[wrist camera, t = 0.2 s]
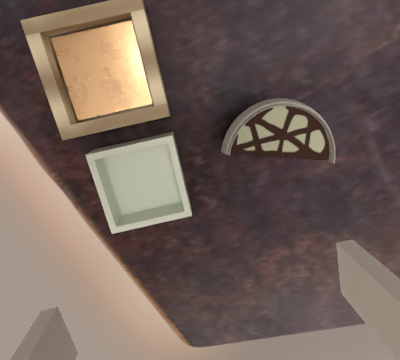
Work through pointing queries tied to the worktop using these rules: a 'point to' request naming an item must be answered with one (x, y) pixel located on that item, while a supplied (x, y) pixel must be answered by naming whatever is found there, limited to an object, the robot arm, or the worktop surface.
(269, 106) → the food container
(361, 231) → the worktop surface
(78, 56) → the plate
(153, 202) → the bin
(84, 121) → the beige square tray
